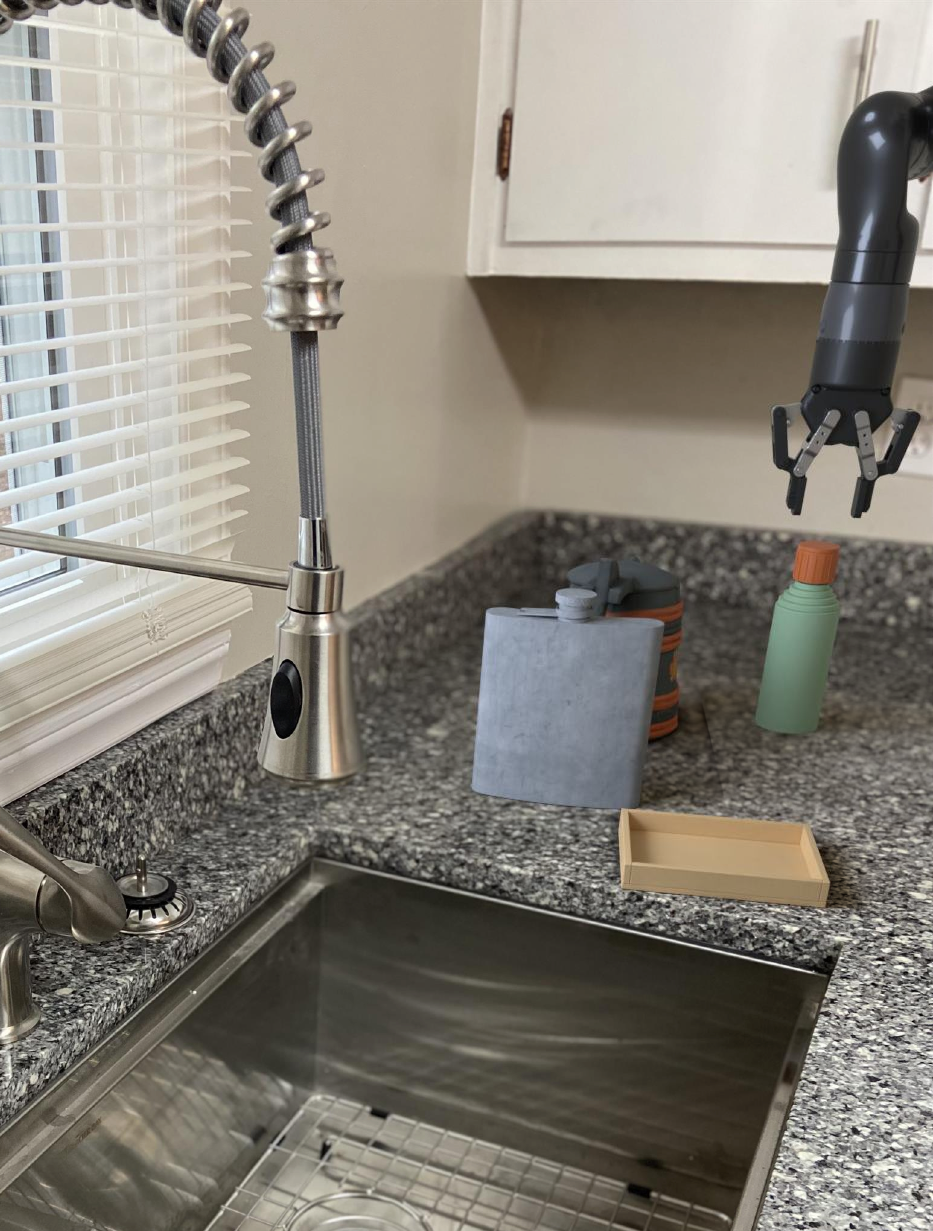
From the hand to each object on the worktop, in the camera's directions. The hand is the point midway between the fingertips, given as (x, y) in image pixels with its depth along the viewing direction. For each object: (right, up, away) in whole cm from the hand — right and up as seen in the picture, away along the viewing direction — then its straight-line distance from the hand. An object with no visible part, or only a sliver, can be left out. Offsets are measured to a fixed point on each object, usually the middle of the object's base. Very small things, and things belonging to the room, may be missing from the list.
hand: (825, 514), depth 142 cm
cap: (0, -6, +3) cm, 7 cm away
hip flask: (-29, -29, -6) cm, 41 cm away
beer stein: (-19, -20, +11) cm, 30 cm away
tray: (-18, -36, -20) cm, 45 cm away
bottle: (0, -21, +11) cm, 23 cm away
